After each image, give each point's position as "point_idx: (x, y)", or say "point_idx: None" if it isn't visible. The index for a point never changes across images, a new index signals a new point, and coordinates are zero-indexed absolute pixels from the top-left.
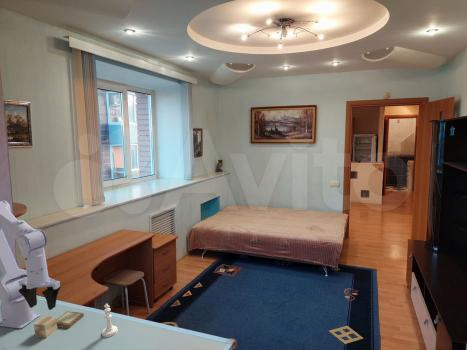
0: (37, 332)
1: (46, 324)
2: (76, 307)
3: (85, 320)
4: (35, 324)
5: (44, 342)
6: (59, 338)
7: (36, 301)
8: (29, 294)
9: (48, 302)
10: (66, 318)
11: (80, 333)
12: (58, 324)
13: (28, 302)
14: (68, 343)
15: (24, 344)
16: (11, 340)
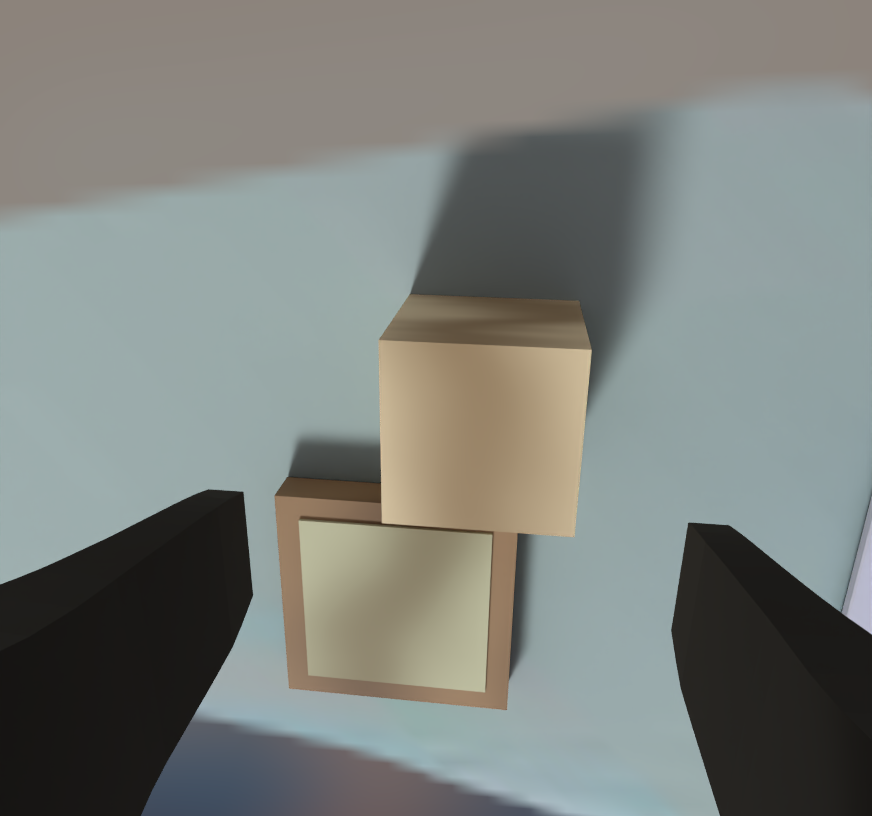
0: (539, 314)
1: (379, 366)
2: (502, 785)
3: None
4: (553, 345)
5: (365, 214)
6: (248, 305)
7: (681, 680)
8: (801, 785)
9: (93, 558)
10: (399, 593)
11: (94, 409)
12: None
13: (759, 579)
14: (74, 242)
15: (597, 137)
16: (857, 179)
